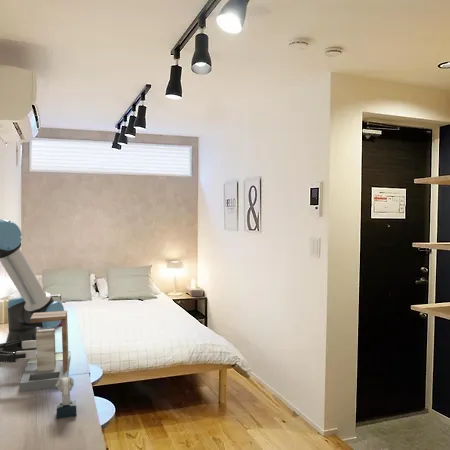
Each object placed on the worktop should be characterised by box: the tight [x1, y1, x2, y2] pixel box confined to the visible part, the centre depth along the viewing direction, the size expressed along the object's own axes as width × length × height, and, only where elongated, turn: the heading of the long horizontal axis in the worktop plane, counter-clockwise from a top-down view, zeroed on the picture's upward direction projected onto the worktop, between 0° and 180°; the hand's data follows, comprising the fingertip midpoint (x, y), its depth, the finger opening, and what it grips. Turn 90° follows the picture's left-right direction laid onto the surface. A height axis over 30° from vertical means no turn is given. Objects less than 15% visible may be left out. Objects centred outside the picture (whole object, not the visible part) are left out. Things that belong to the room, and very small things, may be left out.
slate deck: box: [19, 350, 71, 393], centre depth 178 cm, size 33×15×3 cm, turn 16°
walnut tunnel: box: [30, 310, 69, 371], centre depth 174 cm, size 10×12×20 cm
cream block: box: [36, 328, 56, 372], centre depth 174 cm, size 5×6×14 cm
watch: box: [56, 376, 77, 420], centre depth 141 cm, size 6×8×11 cm
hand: (38, 348), depth 173 cm, fingers open, 13 cm apart
